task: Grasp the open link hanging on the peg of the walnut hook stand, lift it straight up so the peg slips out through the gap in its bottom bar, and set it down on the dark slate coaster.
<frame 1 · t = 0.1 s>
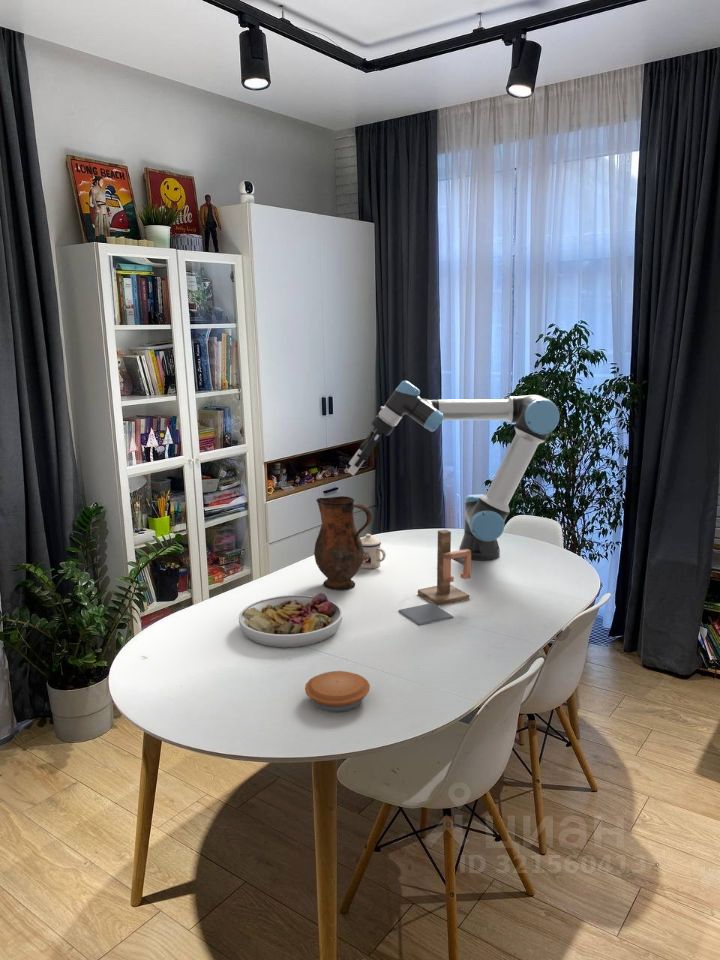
hand: (350, 469, 268), 36 cm above the table, tool tilted 35°, fingers open, 13 cm apart
pitcher: (344, 586, 256), on the table
teacup with lid: (371, 566, 276), on the table
c link: (456, 579, 237), point 8 cm above the table, touching hook stand
hook stand: (443, 596, 246), on the table
bowl: (291, 630, 222), on the table
coaster: (425, 614, 231), on the table
pie: (337, 701, 181), on the table
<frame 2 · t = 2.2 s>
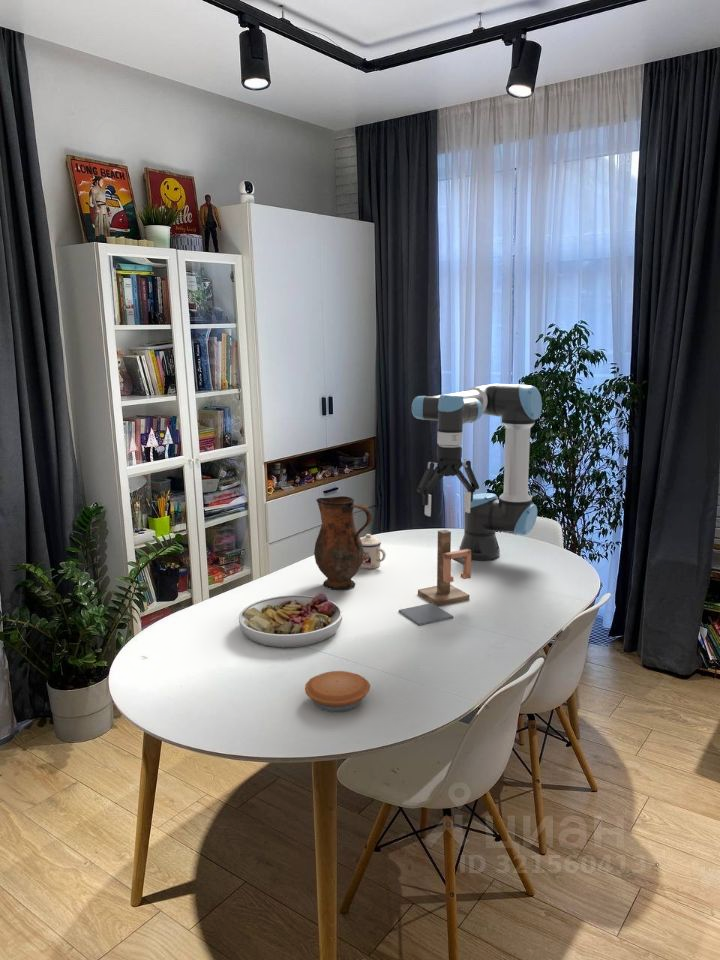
hand: (447, 513, 234), 29 cm above the table, tool pointing down, fingers open, 13 cm apart
nothing on the table moved.
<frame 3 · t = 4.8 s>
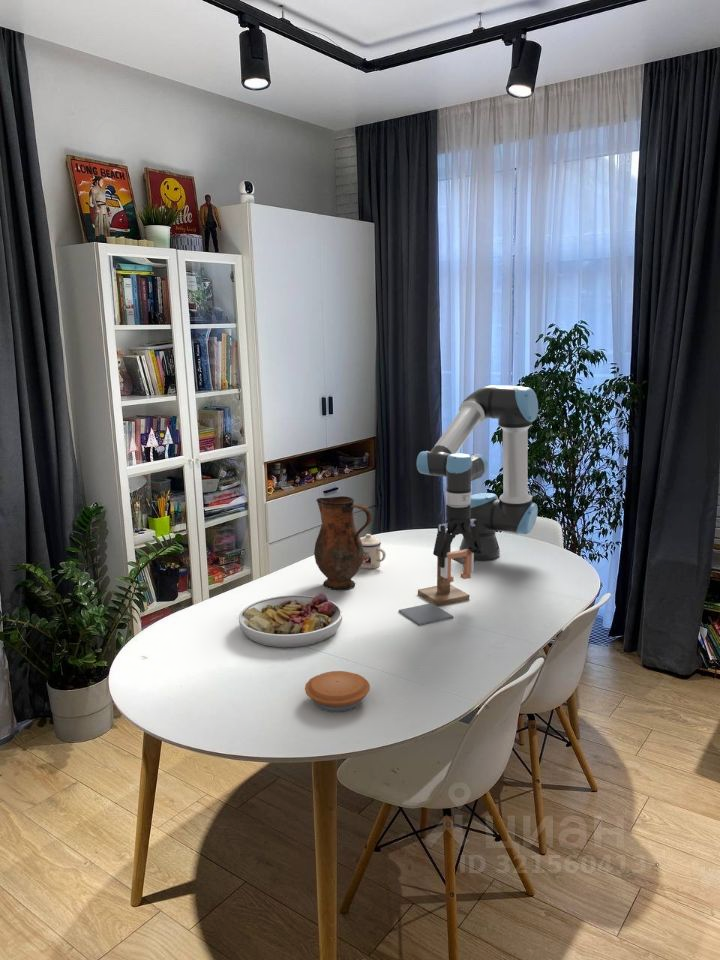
hand: (457, 574, 237), 10 cm above the table, tool pointing down, fingers closed on c link, 9 cm apart
c link: (457, 579, 237), point 8 cm above the table, touching gripper, hook stand
everything else where it was.
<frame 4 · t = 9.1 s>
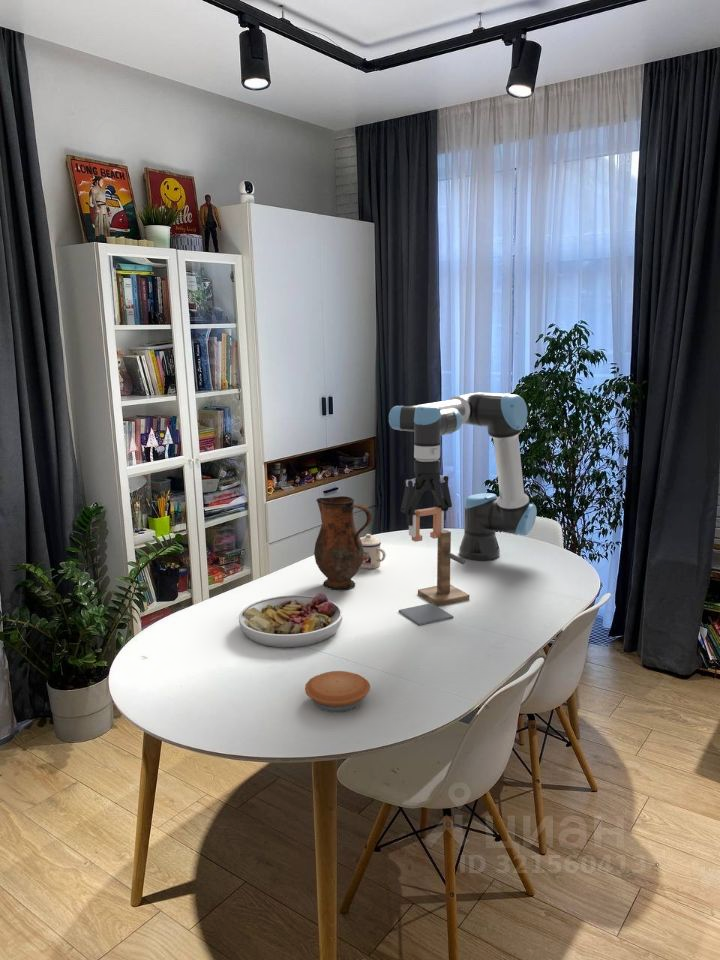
hand: (426, 533, 225), 26 cm above the table, tool pointing down, fingers closed on c link, 9 cm apart
c link: (426, 538, 226), point 24 cm above the table, touching gripper
everything else where it was.
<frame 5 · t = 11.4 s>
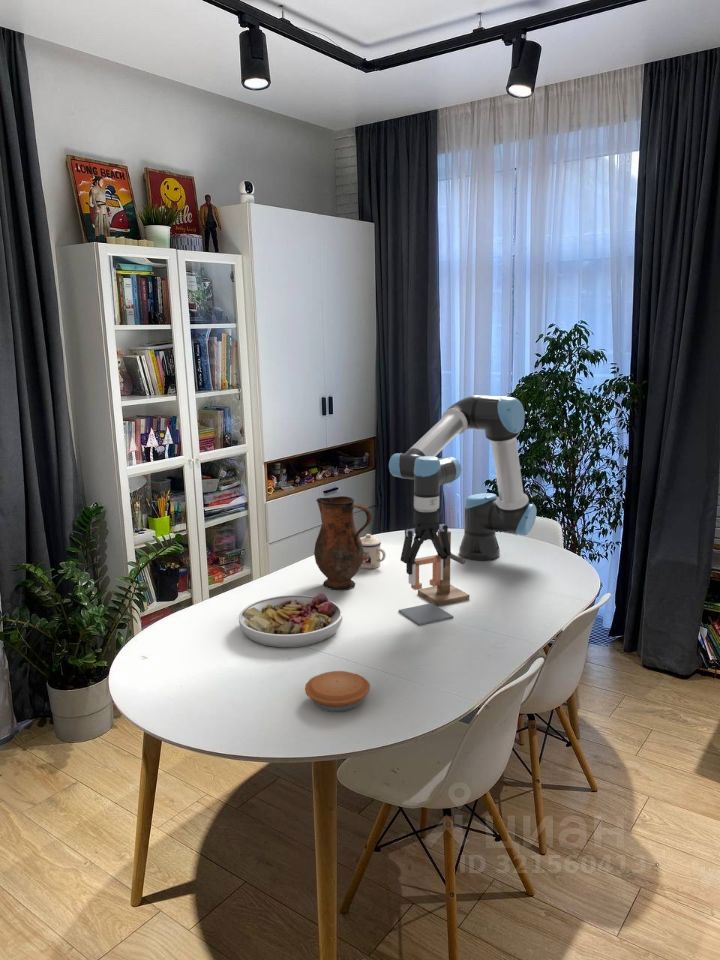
hand: (425, 581, 229), 11 cm above the table, tool pointing down, fingers closed on c link, 9 cm apart
c link: (425, 586, 229), point 9 cm above the table, touching gripper
everything else where it was.
when the fingers open (3 cm above the table, at t = 13.5 s): c link drops 1 cm, resting on coaster.
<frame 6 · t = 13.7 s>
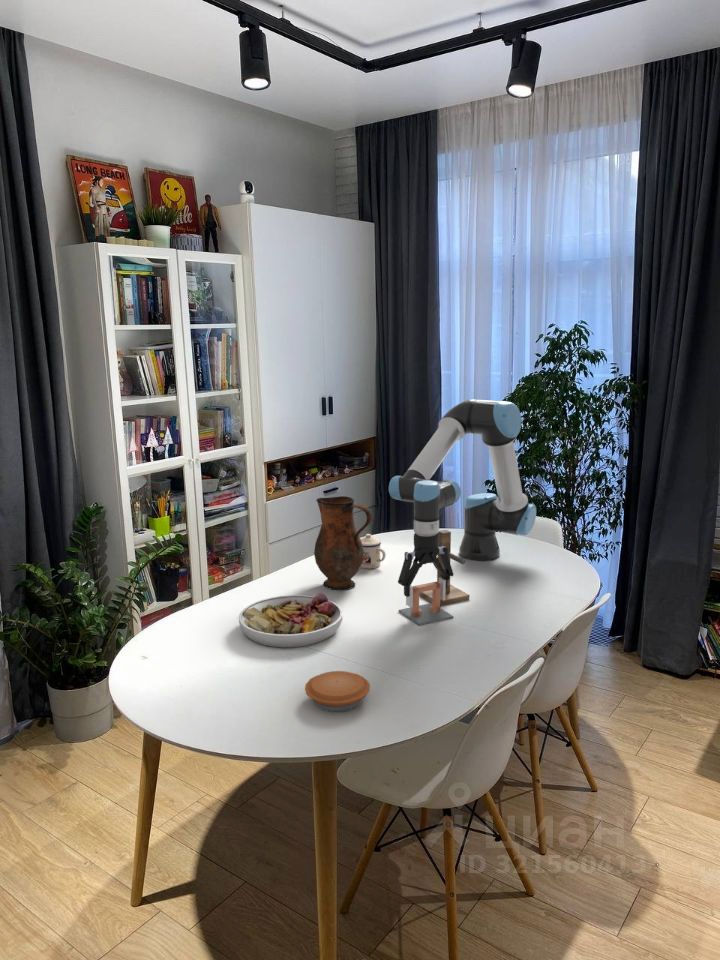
hand: (425, 602, 230), 4 cm above the table, tool pointing down, fingers open, 11 cm apart
c link: (425, 612, 231), point 1 cm above the table, touching coaster
everything else where it was.
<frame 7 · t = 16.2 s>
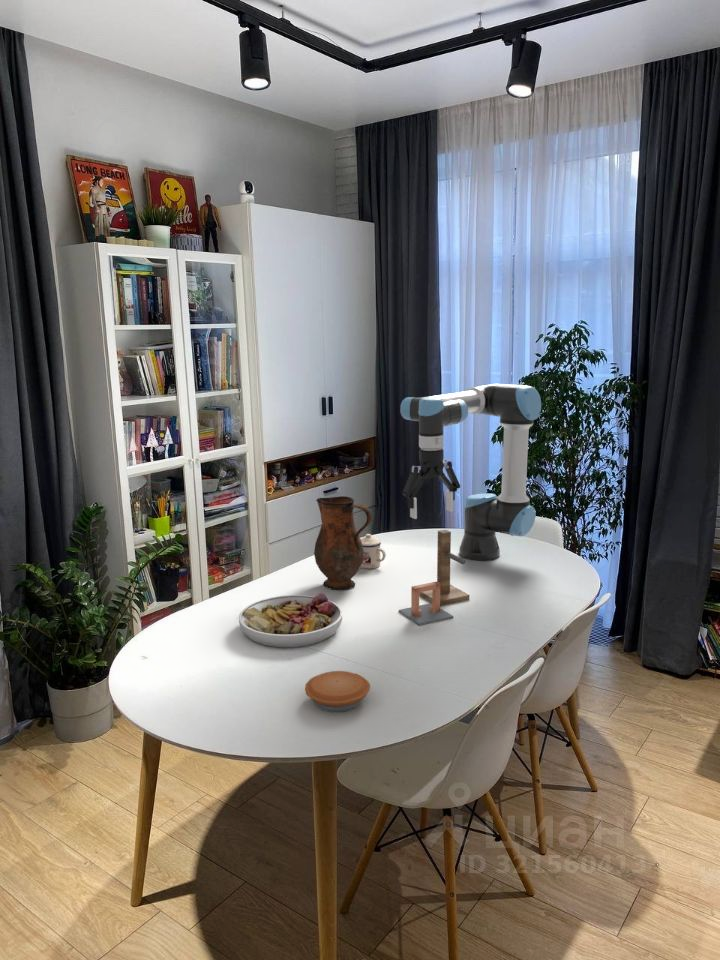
hand: (431, 514, 239), 28 cm above the table, tool pointing down, fingers open, 13 cm apart
nothing on the table moved.
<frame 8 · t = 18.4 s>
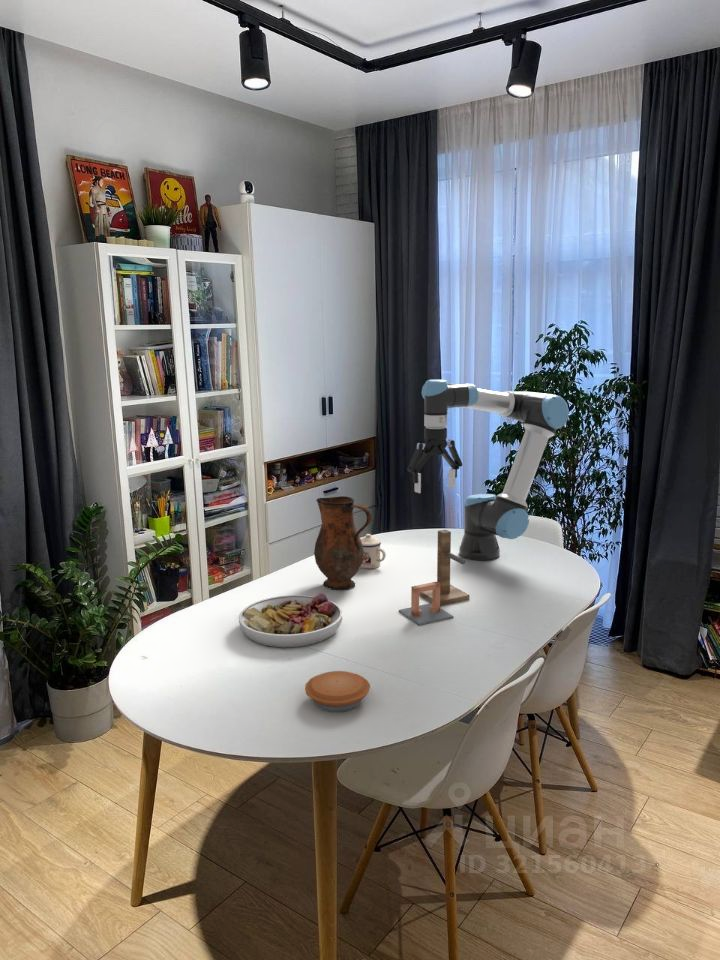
hand: (434, 490, 254), 32 cm above the table, tool pointing down, fingers open, 13 cm apart
nothing on the table moved.
at the end: c link inside the target area on the coaster (0.0 cm from its centre), point 0.6 cm above the coaster's base; c link touching coaster; the gripper is holding nothing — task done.
